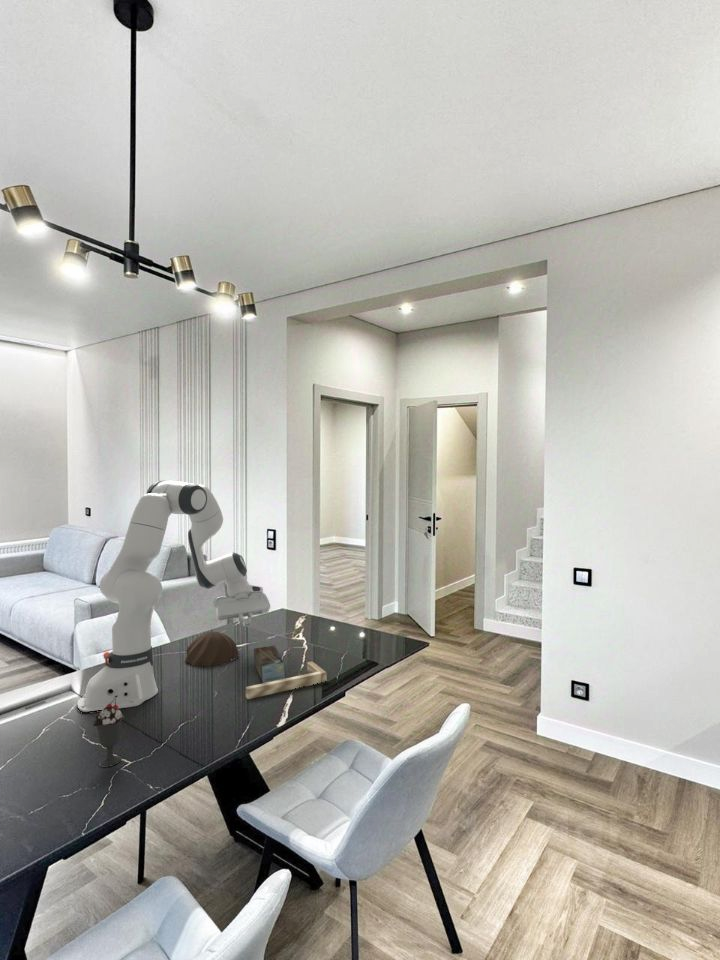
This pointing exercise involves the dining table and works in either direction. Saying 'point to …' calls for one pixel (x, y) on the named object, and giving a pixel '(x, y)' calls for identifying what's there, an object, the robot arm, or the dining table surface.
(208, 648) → the decorative dome
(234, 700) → the dining table surface
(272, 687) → the oak fence
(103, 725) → the sundae
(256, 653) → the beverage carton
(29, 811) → the dining table surface
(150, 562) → the robot arm
